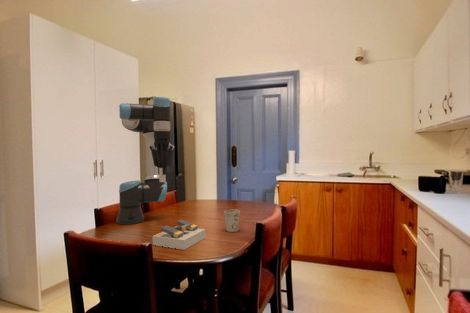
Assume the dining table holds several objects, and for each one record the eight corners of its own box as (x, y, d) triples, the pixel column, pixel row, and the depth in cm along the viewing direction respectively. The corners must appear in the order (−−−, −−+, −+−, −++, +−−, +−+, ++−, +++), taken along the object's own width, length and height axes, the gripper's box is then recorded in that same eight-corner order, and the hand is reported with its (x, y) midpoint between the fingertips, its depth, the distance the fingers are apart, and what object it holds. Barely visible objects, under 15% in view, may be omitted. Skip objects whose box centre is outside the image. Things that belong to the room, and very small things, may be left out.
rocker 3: (176, 224, 137) (177, 221, 137) (181, 222, 141) (182, 219, 141) (192, 230, 134) (193, 227, 134) (197, 228, 138) (197, 225, 138)
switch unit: (152, 245, 127) (152, 233, 127) (176, 234, 144) (176, 224, 143) (184, 249, 121) (184, 237, 121) (205, 237, 137) (205, 227, 137)
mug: (228, 233, 144) (228, 213, 144) (218, 227, 155) (218, 208, 155) (243, 231, 148) (243, 211, 148) (232, 225, 159) (232, 207, 159)
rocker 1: (160, 230, 126) (161, 227, 126) (166, 228, 130) (166, 225, 130) (177, 238, 123) (178, 234, 123) (183, 235, 127) (183, 232, 127)
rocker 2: (169, 232, 132) (168, 228, 132) (174, 229, 136) (174, 226, 136) (186, 229, 128) (185, 226, 128) (191, 227, 132) (190, 224, 132)
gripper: (145, 130, 135) (145, 182, 136) (168, 129, 130) (169, 183, 130) (155, 131, 142) (156, 180, 142) (178, 131, 137) (179, 181, 137)
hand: (162, 181), depth 136 cm, fingers closed
